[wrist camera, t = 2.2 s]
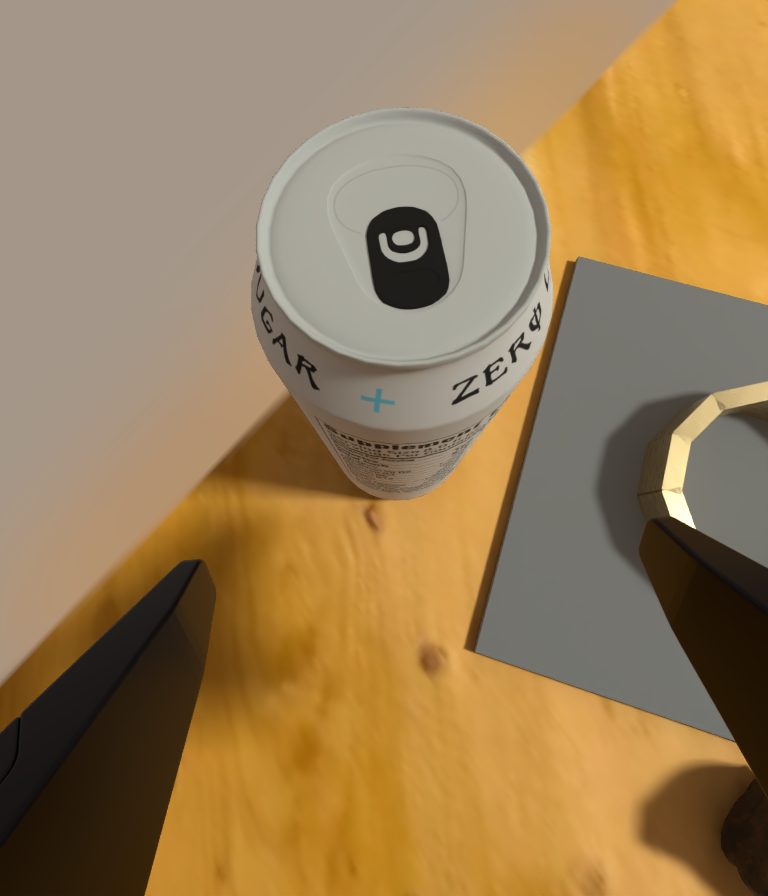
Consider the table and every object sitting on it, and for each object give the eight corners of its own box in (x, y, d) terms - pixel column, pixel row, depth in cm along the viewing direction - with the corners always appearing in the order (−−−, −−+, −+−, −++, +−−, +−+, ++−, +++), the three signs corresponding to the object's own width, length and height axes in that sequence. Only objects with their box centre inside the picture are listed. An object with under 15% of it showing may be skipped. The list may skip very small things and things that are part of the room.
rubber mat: (959, 816, 18) (972, 822, 18) (473, 650, 20) (475, 652, 20) (982, 367, 22) (993, 364, 22) (575, 261, 24) (578, 256, 24)
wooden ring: (847, 643, 19) (898, 654, 17) (620, 571, 20) (645, 573, 18) (869, 433, 21) (917, 421, 19) (661, 375, 22) (687, 358, 20)
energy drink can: (447, 372, 23) (541, 55, 8) (471, 491, 21) (635, 369, 7) (327, 391, 23) (205, 106, 8) (344, 512, 21) (234, 433, 7)
